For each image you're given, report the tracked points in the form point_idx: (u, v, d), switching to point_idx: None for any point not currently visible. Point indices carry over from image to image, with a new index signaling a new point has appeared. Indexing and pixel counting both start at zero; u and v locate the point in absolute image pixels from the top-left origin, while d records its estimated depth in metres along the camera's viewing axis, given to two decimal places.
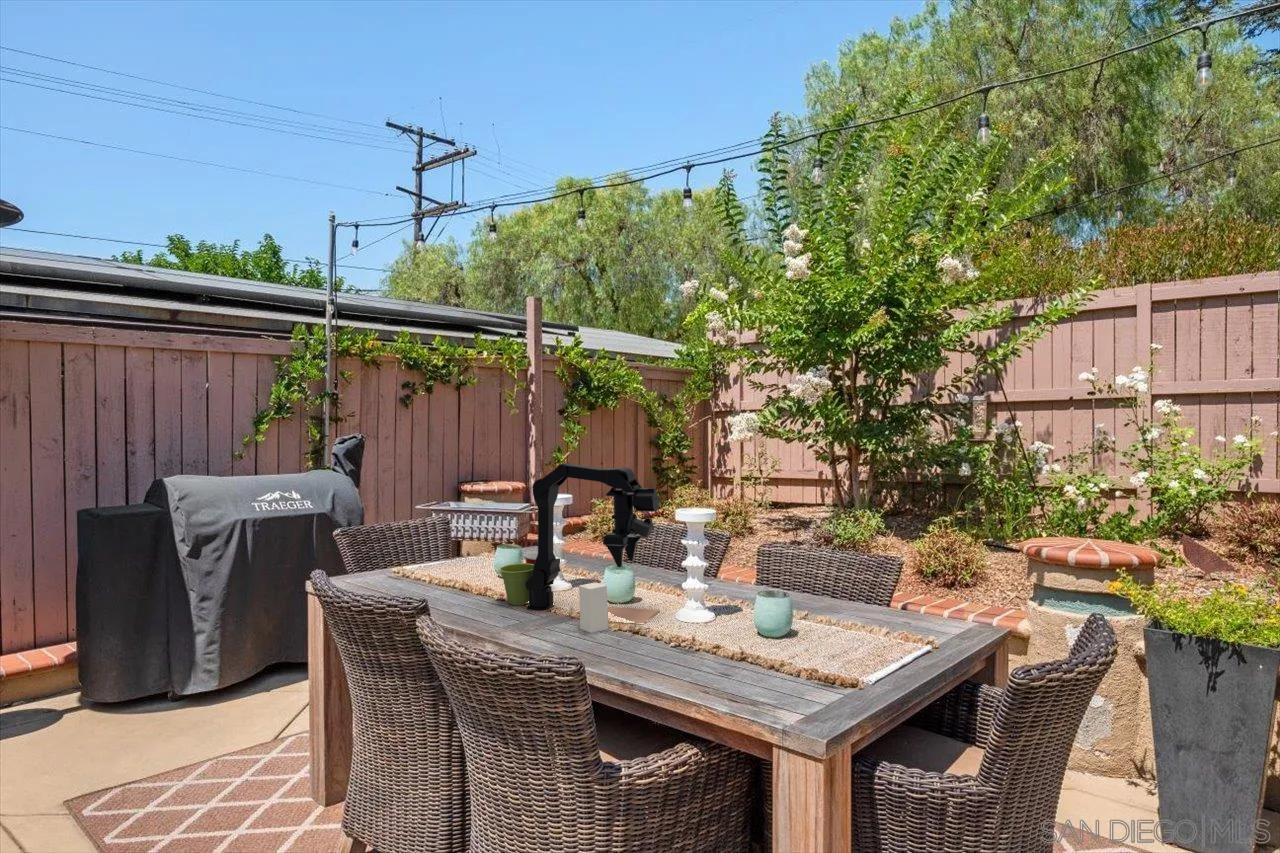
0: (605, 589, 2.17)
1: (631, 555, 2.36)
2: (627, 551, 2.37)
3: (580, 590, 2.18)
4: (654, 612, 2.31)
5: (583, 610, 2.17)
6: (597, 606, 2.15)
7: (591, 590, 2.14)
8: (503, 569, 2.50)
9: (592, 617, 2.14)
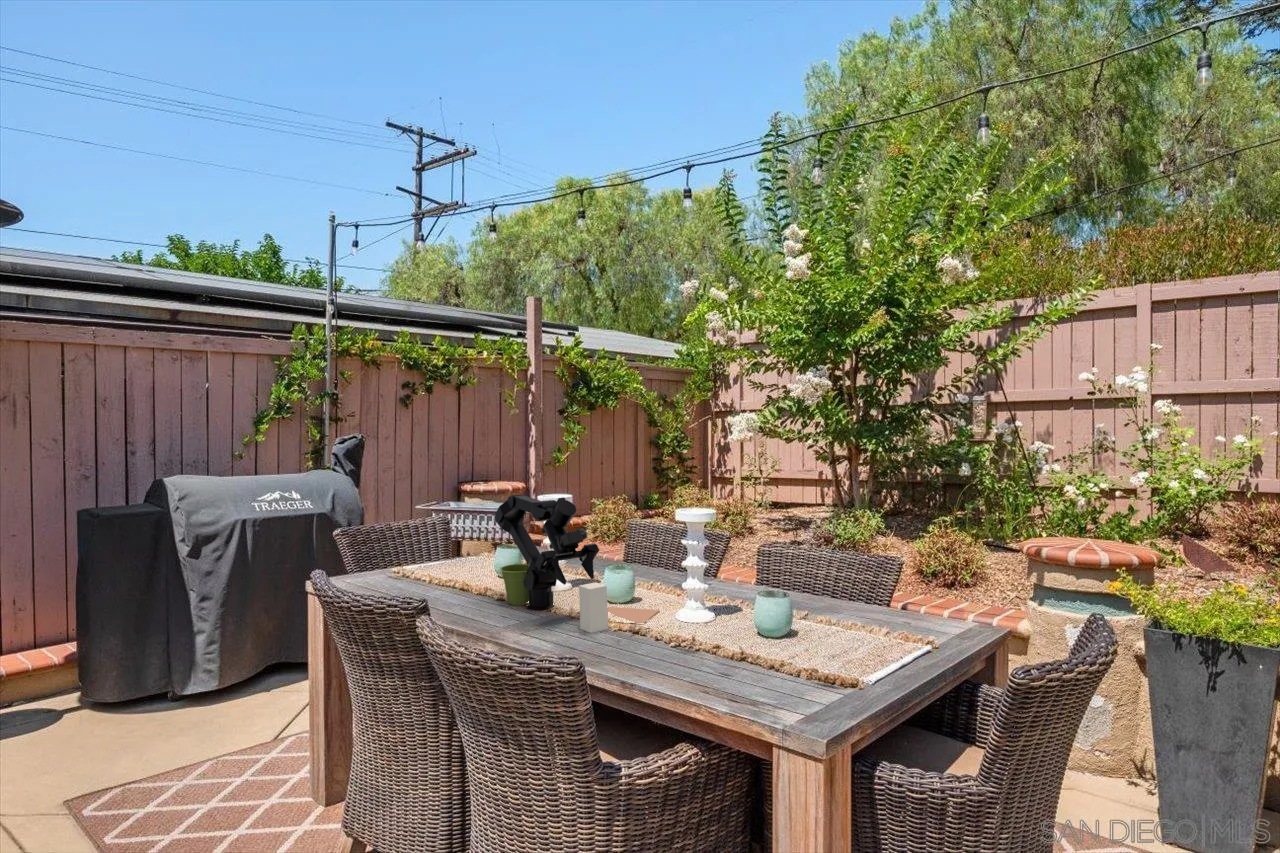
0: (605, 589, 2.17)
1: (590, 573, 2.27)
2: (587, 572, 2.28)
3: (580, 590, 2.18)
4: (654, 612, 2.31)
5: (583, 610, 2.17)
6: (597, 606, 2.15)
7: (591, 590, 2.14)
8: (504, 569, 2.50)
9: (592, 617, 2.14)
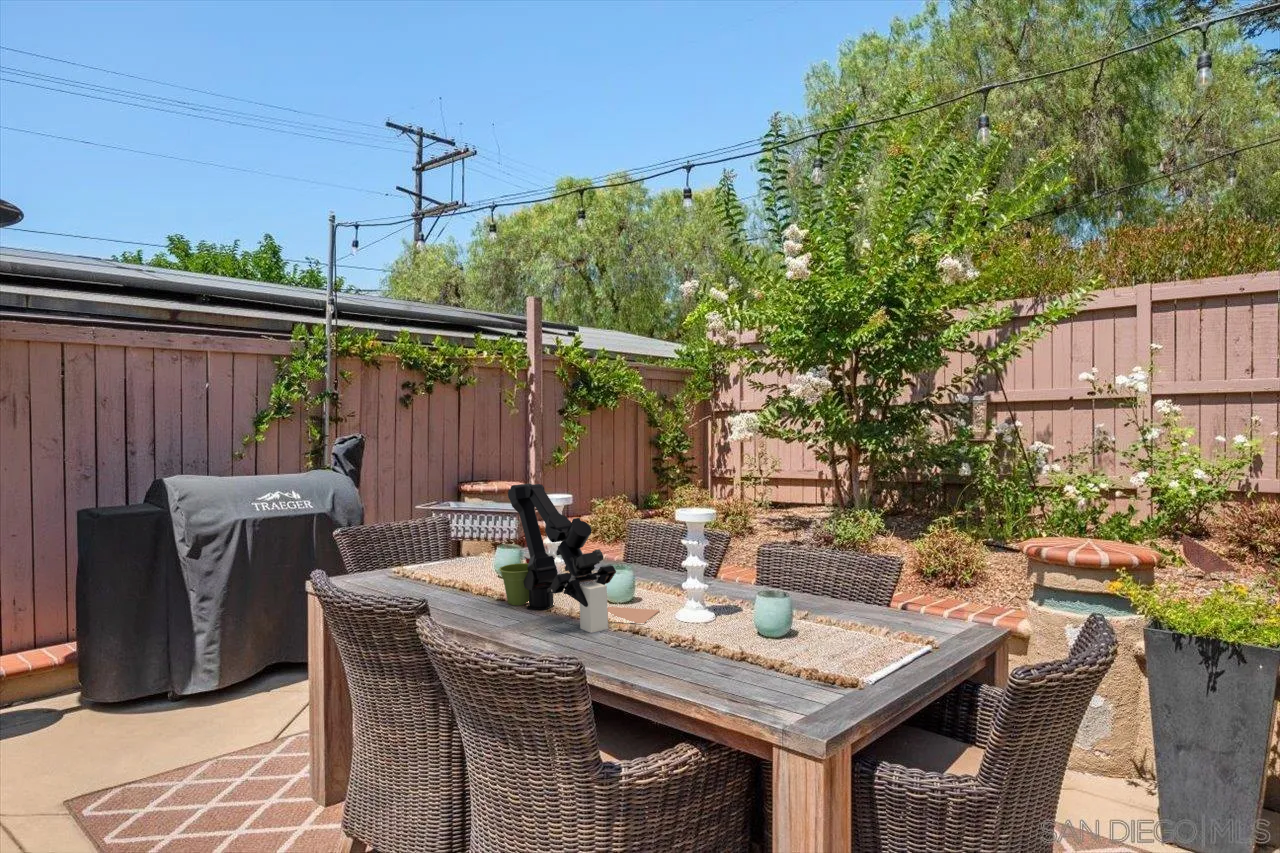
0: (605, 589, 2.17)
1: None
2: None
3: None
4: (654, 612, 2.31)
5: (583, 610, 2.17)
6: (597, 606, 2.15)
7: (591, 590, 2.14)
8: (503, 569, 2.50)
9: (592, 617, 2.14)
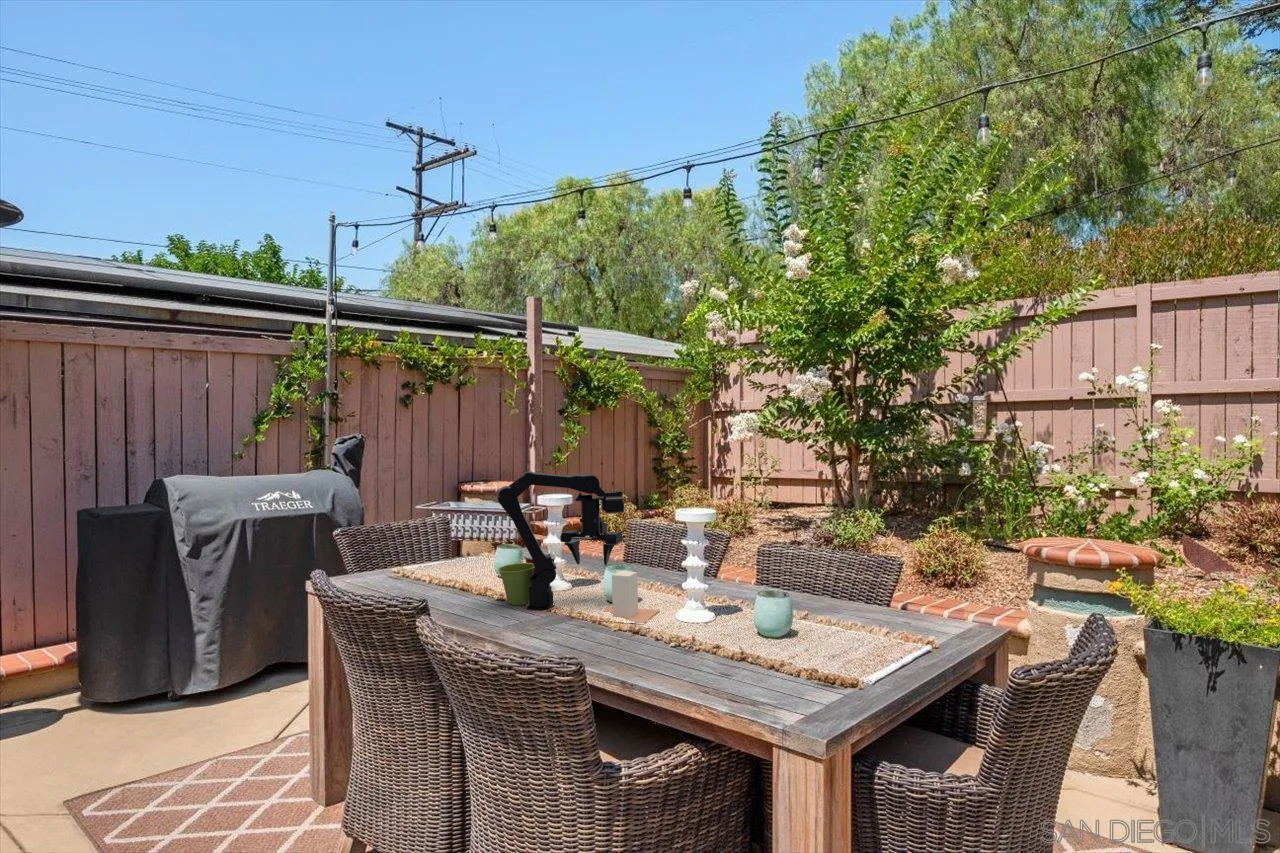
0: (636, 575, 2.30)
1: (579, 558, 2.46)
2: (576, 556, 2.45)
3: (613, 579, 2.28)
4: (654, 612, 2.31)
5: (617, 598, 2.27)
6: (633, 592, 2.28)
7: (629, 577, 2.26)
8: (502, 569, 2.50)
9: (630, 603, 2.26)
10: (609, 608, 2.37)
